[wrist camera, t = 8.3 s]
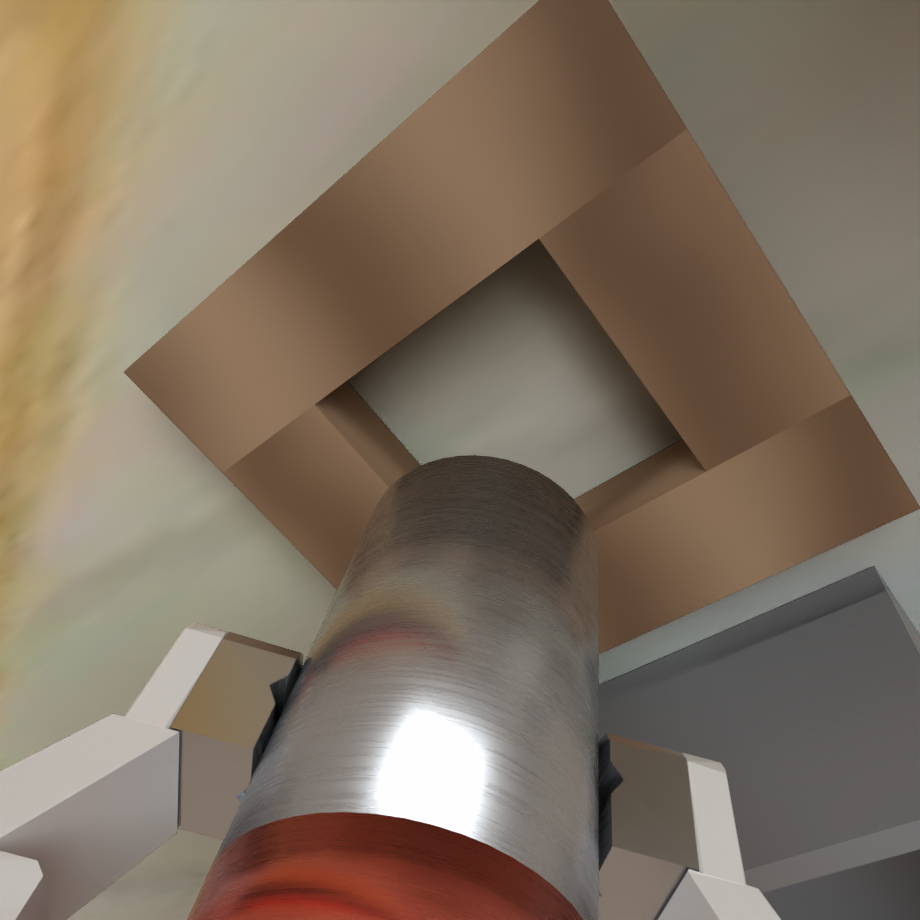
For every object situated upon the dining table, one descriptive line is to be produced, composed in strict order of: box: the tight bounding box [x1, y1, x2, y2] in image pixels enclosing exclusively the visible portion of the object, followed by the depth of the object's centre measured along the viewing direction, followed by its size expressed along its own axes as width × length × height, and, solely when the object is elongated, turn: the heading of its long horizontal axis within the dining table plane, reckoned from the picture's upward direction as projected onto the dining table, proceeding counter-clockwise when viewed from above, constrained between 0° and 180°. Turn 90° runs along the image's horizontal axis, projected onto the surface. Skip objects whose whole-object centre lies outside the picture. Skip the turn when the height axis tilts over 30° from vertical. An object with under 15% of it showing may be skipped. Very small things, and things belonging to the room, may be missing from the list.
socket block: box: [124, 0, 920, 654], centre depth 18 cm, size 13×13×2 cm
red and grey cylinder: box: [187, 455, 599, 920], centre depth 10 cm, size 4×4×8 cm
